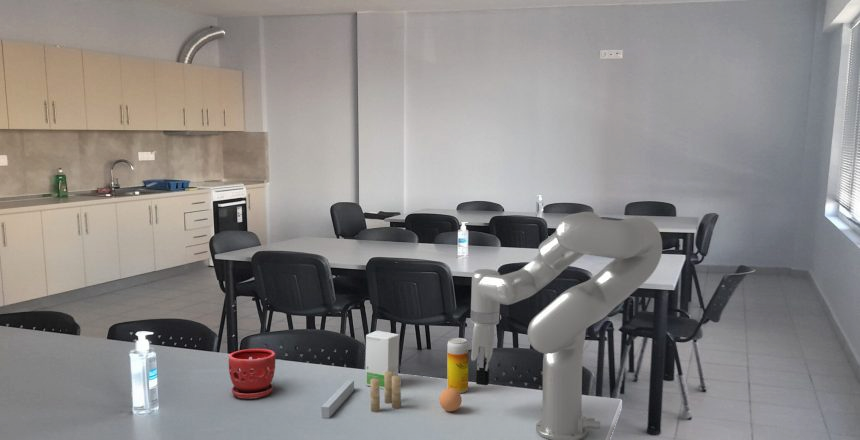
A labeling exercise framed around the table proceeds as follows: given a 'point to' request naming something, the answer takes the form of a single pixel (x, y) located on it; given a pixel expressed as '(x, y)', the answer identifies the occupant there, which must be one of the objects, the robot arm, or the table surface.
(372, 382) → the rear pin left
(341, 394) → the back rail
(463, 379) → the yellow canister
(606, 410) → the table surface
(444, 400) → the ball
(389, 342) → the skincare box
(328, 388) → the table surface
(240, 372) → the plant pot
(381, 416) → the table surface
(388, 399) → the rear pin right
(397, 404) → the front pin
